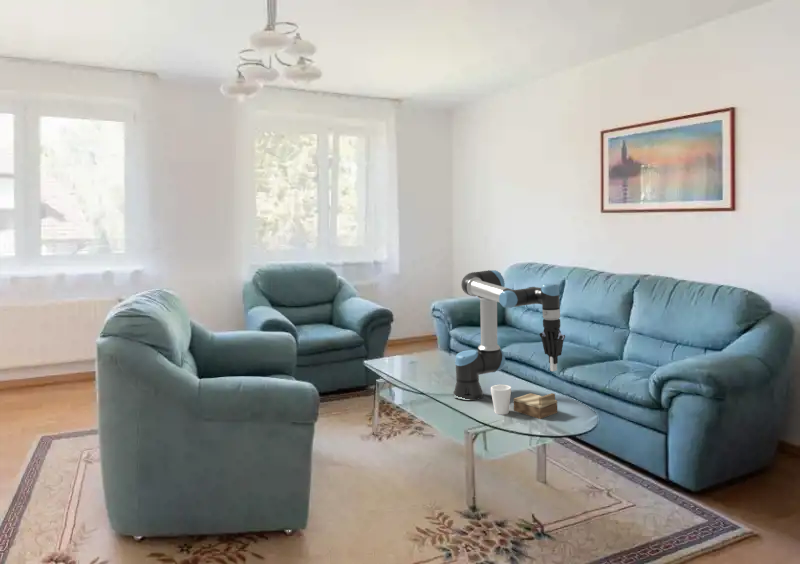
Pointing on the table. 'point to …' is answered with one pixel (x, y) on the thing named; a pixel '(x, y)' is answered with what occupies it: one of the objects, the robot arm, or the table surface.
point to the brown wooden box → (535, 410)
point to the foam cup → (501, 398)
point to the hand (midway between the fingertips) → (553, 370)
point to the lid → (537, 400)
